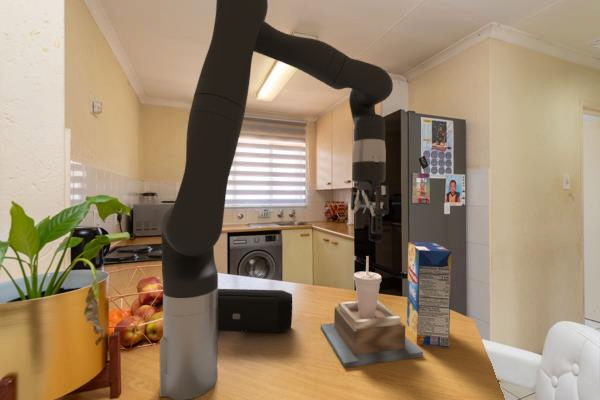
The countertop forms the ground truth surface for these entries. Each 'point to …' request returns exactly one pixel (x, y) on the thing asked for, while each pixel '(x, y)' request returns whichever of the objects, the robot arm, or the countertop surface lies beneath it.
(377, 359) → the pedestal base
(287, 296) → the portable speaker
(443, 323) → the beverage box
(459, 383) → the countertop surface
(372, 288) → the smoothie
